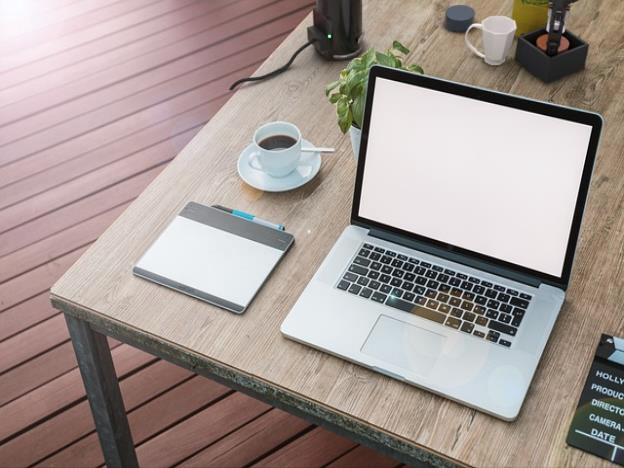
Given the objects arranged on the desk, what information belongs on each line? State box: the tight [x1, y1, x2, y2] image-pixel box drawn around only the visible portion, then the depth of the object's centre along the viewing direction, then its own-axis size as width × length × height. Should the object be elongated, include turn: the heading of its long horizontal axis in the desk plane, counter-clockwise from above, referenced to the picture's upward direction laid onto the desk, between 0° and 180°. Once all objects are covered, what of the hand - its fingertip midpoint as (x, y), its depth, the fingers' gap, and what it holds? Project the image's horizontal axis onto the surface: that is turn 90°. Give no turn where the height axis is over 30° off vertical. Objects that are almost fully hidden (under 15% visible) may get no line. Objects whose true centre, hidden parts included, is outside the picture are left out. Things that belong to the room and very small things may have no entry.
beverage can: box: [510, 0, 550, 40], centre depth 173 cm, size 9×9×12 cm
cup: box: [464, 15, 517, 66], centre depth 168 cm, size 7×10×8 cm
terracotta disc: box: [536, 34, 569, 55], centre depth 166 cm, size 6×6×3 cm
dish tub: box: [514, 26, 590, 85], centre depth 167 cm, size 10×10×6 cm
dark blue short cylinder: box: [444, 4, 476, 33], centre depth 179 cm, size 6×6×3 cm
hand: (551, 49), depth 166 cm, fingers closed on terracotta disc, 6 cm apart
